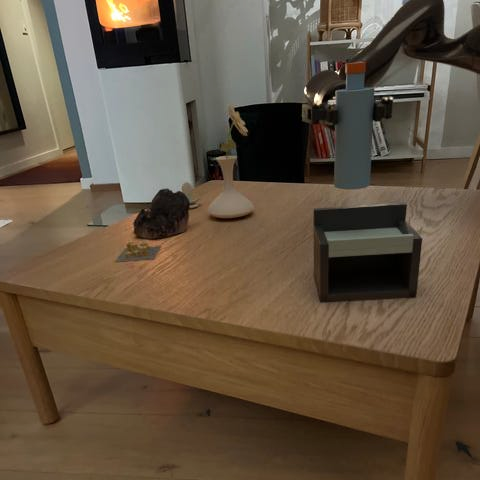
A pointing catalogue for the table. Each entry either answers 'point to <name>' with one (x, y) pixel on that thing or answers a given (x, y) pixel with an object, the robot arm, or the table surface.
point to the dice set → (138, 252)
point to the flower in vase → (230, 179)
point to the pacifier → (189, 194)
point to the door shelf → (365, 253)
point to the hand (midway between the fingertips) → (357, 114)
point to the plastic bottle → (354, 130)
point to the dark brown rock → (163, 215)
